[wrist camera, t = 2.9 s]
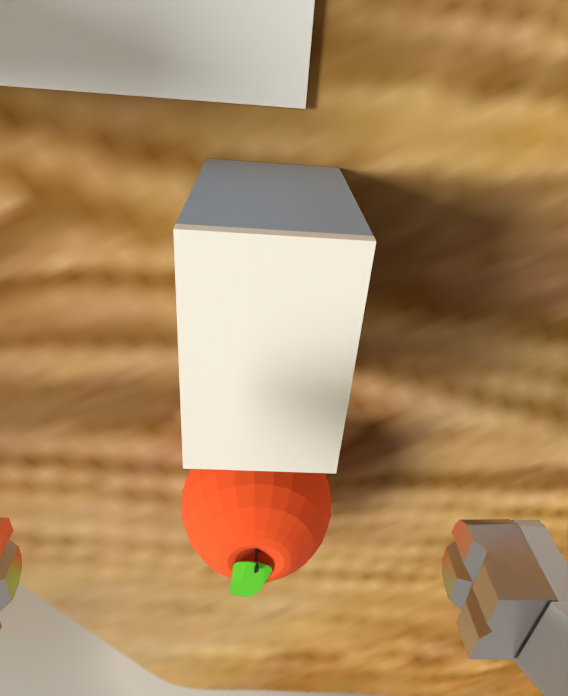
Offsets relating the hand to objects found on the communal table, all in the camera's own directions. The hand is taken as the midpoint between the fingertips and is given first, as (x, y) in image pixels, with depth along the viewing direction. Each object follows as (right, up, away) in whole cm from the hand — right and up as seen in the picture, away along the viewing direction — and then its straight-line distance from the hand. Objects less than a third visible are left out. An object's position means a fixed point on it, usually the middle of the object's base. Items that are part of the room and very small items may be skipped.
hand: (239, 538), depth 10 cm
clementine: (-1, -2, +18) cm, 18 cm away
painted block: (0, +7, +12) cm, 14 cm away
